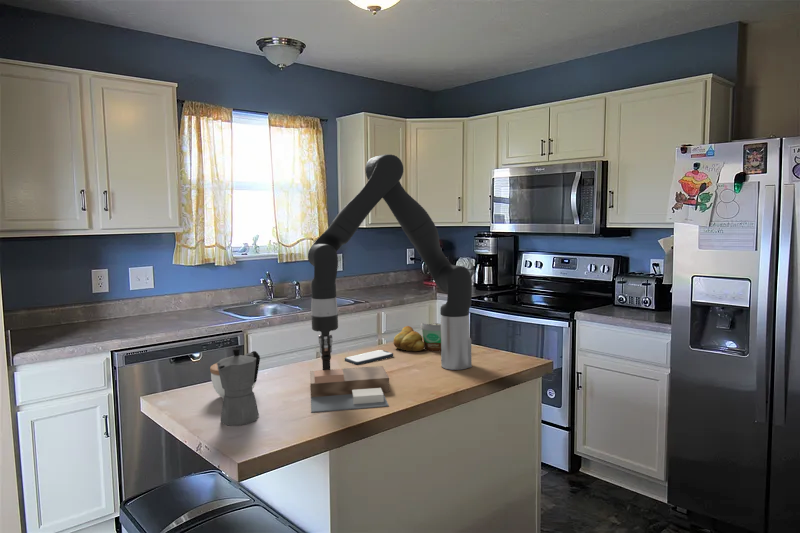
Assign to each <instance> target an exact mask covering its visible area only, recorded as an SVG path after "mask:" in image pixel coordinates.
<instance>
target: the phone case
mask: <svg viewBox="0 0 800 533" xmlns="http://www.w3.org/2000/svg"><path fill="white" fill-rule="evenodd" d="M390 357H392V358H394V353H393V352H389V351H387V350H384V349H377V350H373V351H367V352H363V353H360V354H355V355H351V356H346V357H345V358H344V361H345V362H347V363H350V364H353V365H356V366H359V365H364V364H368V363H373V361H374V362H378V361H383V360H387V359H391V358H390ZM386 358H387V359H386ZM382 359H383V360H382ZM377 360H378V361H377Z"/></svg>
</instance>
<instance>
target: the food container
mask: <svg viewBox="0 0 800 533" xmlns="http://www.w3.org/2000/svg"><path fill="white" fill-rule="evenodd" d="M420 330H421V331H422V341H423V342H424V343H425V347H424V350H425V349H426V350H425V351H427V350H429V351H428V352H433V351H440V352H441V323H437V322H436V323H429V324H426V323H423V322H421V323H420Z"/></svg>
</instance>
